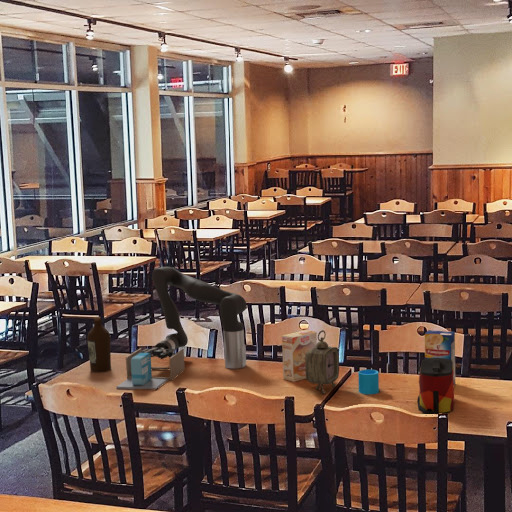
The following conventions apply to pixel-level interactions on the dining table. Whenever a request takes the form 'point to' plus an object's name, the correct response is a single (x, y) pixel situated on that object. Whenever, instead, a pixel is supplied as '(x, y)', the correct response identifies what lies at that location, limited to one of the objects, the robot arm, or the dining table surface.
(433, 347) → the beverage box
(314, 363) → the tabletop clock
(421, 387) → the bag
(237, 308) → the robot arm
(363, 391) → the mug
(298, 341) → the coffeecake box
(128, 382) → the board
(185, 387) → the dining table surface
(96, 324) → the olive oil
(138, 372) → the data package
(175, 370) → the bookend rack
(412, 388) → the dining table surface
